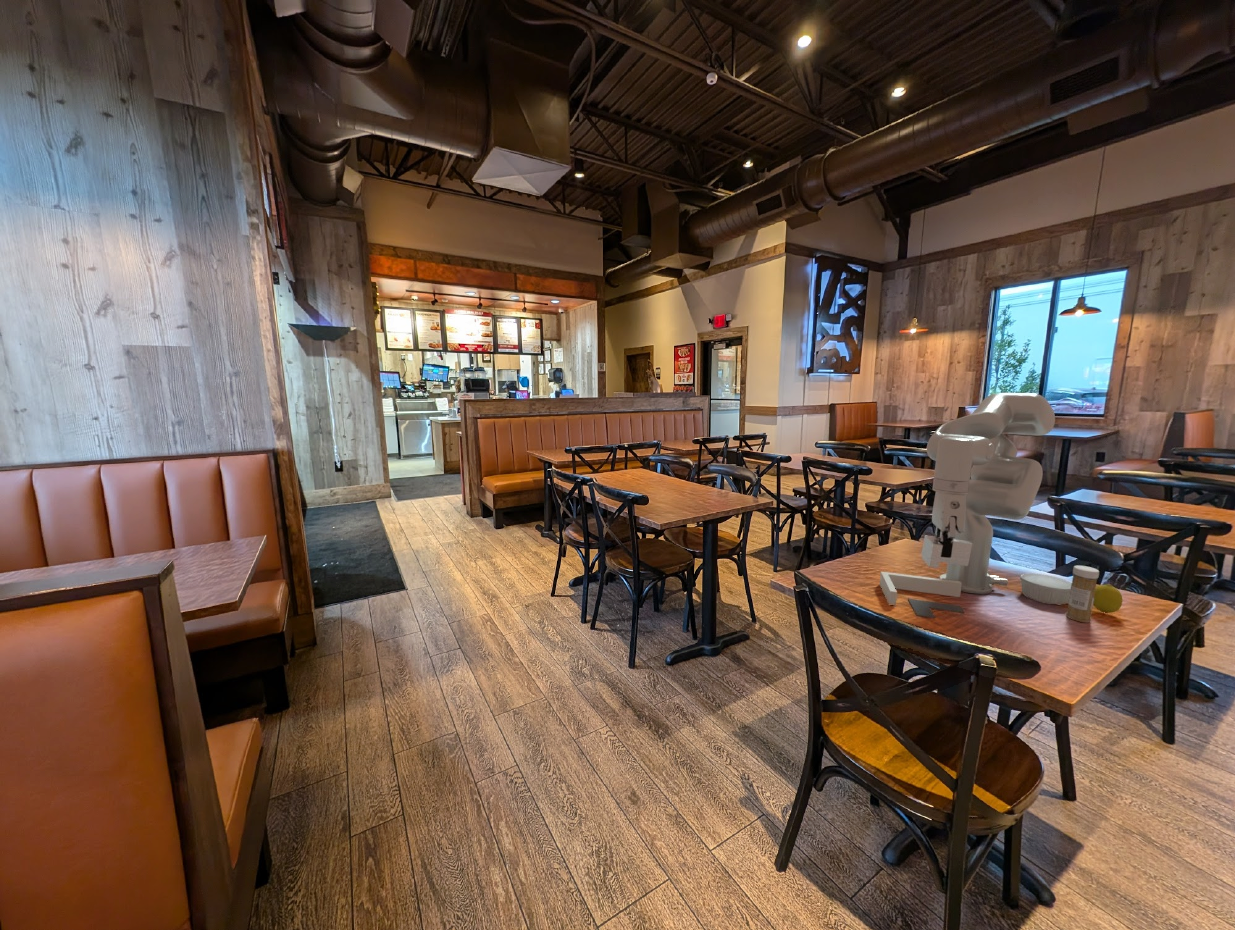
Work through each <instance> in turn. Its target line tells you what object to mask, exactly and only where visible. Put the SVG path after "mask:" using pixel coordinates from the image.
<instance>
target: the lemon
mask: <svg viewBox="0 0 1235 930" xmlns="http://www.w3.org/2000/svg"><path fill="white" fill-rule="evenodd" d="M1122 605H1123V595H1122V593H1121V592H1120V590H1119V589H1118V588H1117V587H1114V586H1113V585H1112V584H1109V583H1108V584H1102V585H1098V586H1096V588H1095V594H1094V602H1093V607H1094V608H1095V609H1096V610H1098V611H1100V612H1101V613H1102V612H1105V613H1107V614H1108V613H1109V614H1110V613H1115V612H1117V611H1119V610H1120V609H1121V607H1122Z"/></svg>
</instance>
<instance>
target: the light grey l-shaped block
mask: <svg viewBox="0 0 1235 930" xmlns="http://www.w3.org/2000/svg"><path fill="white" fill-rule="evenodd" d="M961 585H962V583H961V582H960V581H953V580H945V579H939V578H935V577H927V576H920V575H910V574H905V573H904V574H903V573H897V572H896V573H894V572H887V571H880V576H879V586H880V588H882V589H881V591H882V593H883V596H884V595H885V596H884V598H885V599H887V600H886V602H887V601H888V602H887V604H888V603H889V604H892V605H895V606H894V607H897V600H898V599H897V597H898V591H897V590H904V591H911V592H919V593H926V594H927V593H928V594H934V595H940V596H942V595H943V596H948V597H949V596H950V597H956V598H961V593H962V591H961ZM895 588H896V589H895ZM889 604H888V605H889Z"/></svg>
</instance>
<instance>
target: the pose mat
mask: <svg viewBox="0 0 1235 930" xmlns="http://www.w3.org/2000/svg"><path fill="white" fill-rule="evenodd" d="M907 600H908V602H909V605H910V606H911V608H912V609H913V612H914V613H915V615H916V616H917V617H924V618H929V619H930V618H931V619H936V616H935V614H934V613H933V611H932V609H933V610H939V611H946V612H952V613H960V614H965V613H966V611H965V610H964V609H963V608H962V607H961V605H960V604H959V605H958V604H951V603H945V602H944V603H943V602H936V601H935V602H934V601H929V600H922V599H916V598H915V599H913V598H907Z"/></svg>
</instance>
